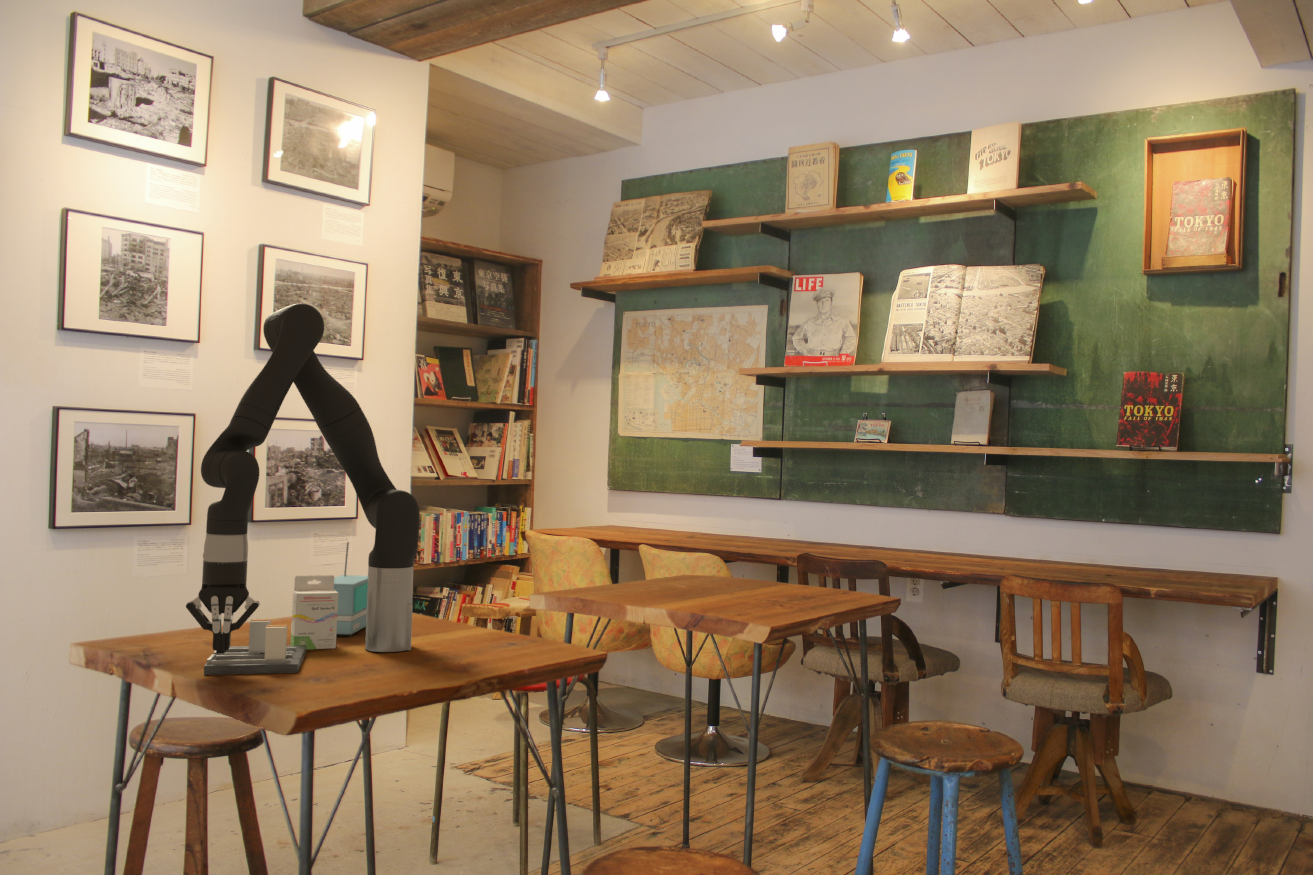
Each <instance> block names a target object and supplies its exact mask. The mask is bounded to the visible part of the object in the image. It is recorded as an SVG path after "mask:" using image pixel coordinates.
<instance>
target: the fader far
mask: <svg viewBox="0 0 1313 875" xmlns="http://www.w3.org/2000/svg"><path fill="white" fill-rule="evenodd" d="M267 625H272V618H271V619H270V618H268V619H267V618H265V619H264V618H263V619H261V618H256V619H255V618H253V619H250V621H249V630H248V632H249V633H248V646H249V652H265V635H266V627H267Z"/></svg>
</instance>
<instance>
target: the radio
mask: <svg viewBox="0 0 1313 875" xmlns="http://www.w3.org/2000/svg"><path fill="white" fill-rule="evenodd" d="M349 543H350V541H347V542H346V550H345V563H344V574H341V575H338V576H334V590H335V591H337V592H338V615H337V633H336V637H346V638H347V637H352V636H353V634H355V633H357V632H358V631H360V630H362V629H366V612H367V587H368V575H352V574H350V575H349V574H347V569H348V567H347V566H348V554H349V545H350V544H349ZM318 584H321V581H319V583H318Z"/></svg>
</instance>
